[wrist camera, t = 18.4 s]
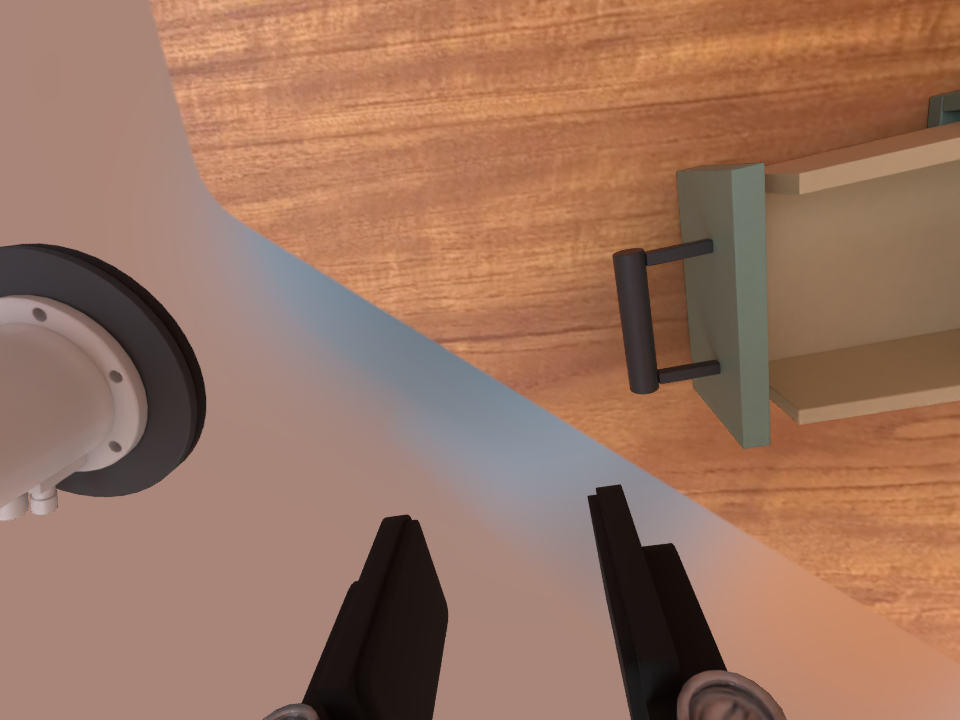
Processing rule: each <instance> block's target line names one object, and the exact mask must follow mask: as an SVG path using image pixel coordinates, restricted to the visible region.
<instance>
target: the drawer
mask: <svg viewBox="0 0 960 720" xmlns="http://www.w3.org/2000/svg"><path fill="white" fill-rule="evenodd" d="M676 178H677V190H678V202H679V214H680V227H681V239H682V244H678V245H674V246H669V247H664V248H660V249H655V250H650V251H646V252H644V249H642V248H633V249H626V250H622V251H619V252H616V253H614V254H613V264H614V271H615V279H616V286H617V294H618V301H619V309H620V316H621V324H622V332H623V339H624V347H625V354H626V362H627V369H628V377H629V384H630V390H631V391H632V392H633V393H636V394H650V393H653V392H655V391H657V390H658V389H659V383H660V384H665V383H670V382H676V381H682V380H688V379H693V386H694V389H695V390H696V392H697V393H698V394H699V395H700V396H701V398H702V399H703V400H704V401H705V403H706V404H707V405H708V406H709V407H710V409H711V410H712V411H713V412H714V414H715V415H716V416H717V417H718V418H719V420H720V421H721V422H722V423H723V424H724V426H725V427H726V428H727V429H728V431H729V432H730V433H731V434H732V435H733V437H734V438H735V439H736V440H737V442H738V443H739V444H740V445H741V446H742V448H743V449H747V448H754V447H761V446H768V445H770V402H769V398H770V399H771V400H772V401H773V402H774V403H775V404H776V405H777V406H779V407H780V408H781V409H782V410H783V411H784V412H785V413H786V414H788V415H789V416H790V417H791V418H792V419H793V420H794V421H795V422H797V423H798V424H800V425H801V424H808V423H814V422H821V421H827V420H834V419H841V418H847V417H854V416H860V415H867V414H874V413H880V412H887V411H893V410H900V409H907V408H913V407H920V406H926V405H933V404H940V403H946V402H953V401H959V400H960V121H957V122H953V123H949V124H944V125H940V126H936V127H931V128H927V129H923V130H918V131H914V132H910V133H905V134H901V135H897V136H893V137H888V138H884V139H880V140H875V141H871V142H867V143H862V144H858V145H854V146H849V147H845V148H841V149H836V150H832V151H828V152H823V153H819V154H815V155H810V156H806V157H802V158H798V159H793V160H789V161H785V162H780V163H776V164H772V165H767V166H765V164H764V163H744V164H726V165H708V166H697V167H693V168H689V169H684V170H680V171H677V172H676ZM681 259H683V264H684V276H685V288H686V300H687V313H688V325H689V337H690V350H691V362H692V364H687V365H681V366H675V367H670V368H664V369H658V370H657V362H656V353H655V344H654V335H653V326H652V316H651V307H650V298H649V289H648V280H647V271H646V265H647V266H652V265H657V264H661V263H666V262H671V261H676V260H681Z"/></svg>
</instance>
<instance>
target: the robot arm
mask: <svg viewBox="0 0 960 720" xmlns="http://www.w3.org/2000/svg"><path fill="white" fill-rule="evenodd" d="M147 415H148V404H147V398H146V392H145V388H144V386H143V383H142V380H141V378H140V375H139V373H138V371H137V369H136V367H135V366H134V364H133V362H132V360H131V358H130V357H129V355H128V354H127V353H126V352H125V350H124V349H123V348H122V347H121V345H120V344H119V343H118V341H117V340H116V339H115V338H113V337H112V336H111V335H110V334H109V333H108V332H107V331H106V330H105V329H104V328H103V327H102V326H101V325H99V324H98V323H97V322H95V321H94V320H92V319H91V318H90V317H88V316H87V315H85V314H84V313H82V312H80V311H78V310H76V309H74V308H72V307H71V306H69V305H67V304H64V303H61V302H58V301H55V300H53V299H50V298H46V297H40V296H34V295H10V296H5V297H1V298H0V520H1V521H7V520H11V519H16V518H18V517H20V516H22V515H24V514H25V513H26V512H27V511H28V508H29V502H28V492H29V493H31V509H32V513H34V514H38V515H44V514H49V513H51V512H53V511H55V510H56V509H57V507H58V500H57V490H56V485H57V484H58V483H59V482H60V481H62V480H63V479H65V478H66V477H68V476H69V475H71V474H72V473H74V472H75V471H84V472H86V471H92V470H98V469H102V468H104V467H107V466H109V465H112V464H114V463H115V462H117V461H118V460H119V459H121V458H122V457H124V456H125V455H127V454H128V453H129V452H130V451H131V450H132V449H133V448H134V447H135V446H136V445H137V444H138V442H139V441H140V439H141V437H142V436H143V434H144V431H145V427H146V423H147ZM596 493H597V495H590V496H588V502H589V507H590V513H591V518H592V524H593V529H594V535H595V540H596V545H597V551H598V557H599V562H600V568H601V573H602V578H603V583H604V590H605V594H606V600H607V605H608V610H609V614H610V619H611V624H612V629H613V633H614V639H615V643H616V649H617V653H618V658H619V663H620V668H621V673H622V678H623V682H624V687H625V692H626V697H627V702H628V707H629V712H630V717H631V720H787V719H786V717H785V715H784V713H783V711H782V708H781V707H780V706H779V705H778V704H777V702H776V701H775V700H774V699H773V697H772V696H771V695H770V694H769V693H768V692H767V691H766V690H764V689H763V688H762V687H760V686H759V685H758V684H757V683H755V682H754V681H752V680H750V679H748V678H746V677H744V676H741V675H739V674H737V673H732V672H728V671H727V669H726V667H725V664H724V662H723V660H722V657H721V655H720V652H719V650H718V647H717V645H716V643H715V640H714V638H713V636H712V633H711V631H710V629H709V626H708V624H707V622H706V619H705V617H704V615H703V612H702V609H701V607H700V605H699V602H698V600H697V598H696V595H695V593H694V590H693V588H692V586H691V584H690V581H689V579H688V576H687V574H686V571H685V569H684V567H683V565H682V562H681V560H680V557H679V555H678V552H677V550H676V548H675V546H674V545H673V544H672V543H669V544H660V545H652V546H645V547H641V543H640V540H639V538H638V534H637V531H636V528H635V525H634V522H633V519H632V516H631V513H630V510H629V507H628V504H627V501H626V498H625V495H624V492H623V489H622V486H621V485H613V486H605V487H599V488H596ZM447 624H448V608H447V603H446V600H445V597H444V594H443V591H442V588H441V585H440V582H439V579H438V576H437V574H436V570H435V567H434V565H433V562H432V559H431V556H430V553H429V550H428V547H427V544H426V541H425V538H424V535H423V532H422V529H421V526H420V523H419V522H418V520H412V519H411V517H410V516H409V515H400V516H393V517H387V518H384V519H383V521H382V522H381V525H380V527H379V530H378V532H377V535H376V538H375V540H374V543H373V545H372V548H371V550H370V553H369V555H368V558H367V560H366V563H365V565H364V568H363V570H362V573H361V575H360V578H359V580H358V581H355V582H354V583H353V584H352V585H351V586H350V588H349V590H348V592H347V594H346V597H345V599H344V602H343V604H342V607H341V609H340V611H339V614H338V616H337V619H336V621H335V624H334V626H333V628H332V631H331V633H330V636H329V638H328V641H327V643H326V646H325V648H324V650H323V653H322V655H321V657H320V660H319V662H318V665H317V667H316V670H315V672H314V674H313V677H312V679H311V682H310V684H309V687H308V689H307V691H306V694H305V696H304V699H303V701H302V703H300V704H289V705H287V706H284V707H282V708H280V709H277V710H276V711H274V712H273V713H271V714H270V715H268V716H267V717H265V718H264V719H263V720H432V718H433V712H434V706H435V699H436V693H437V687H438V681H439V674H440V668H441V662H442V656H443V649H444V643H445V637H446V631H447Z"/></svg>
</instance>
